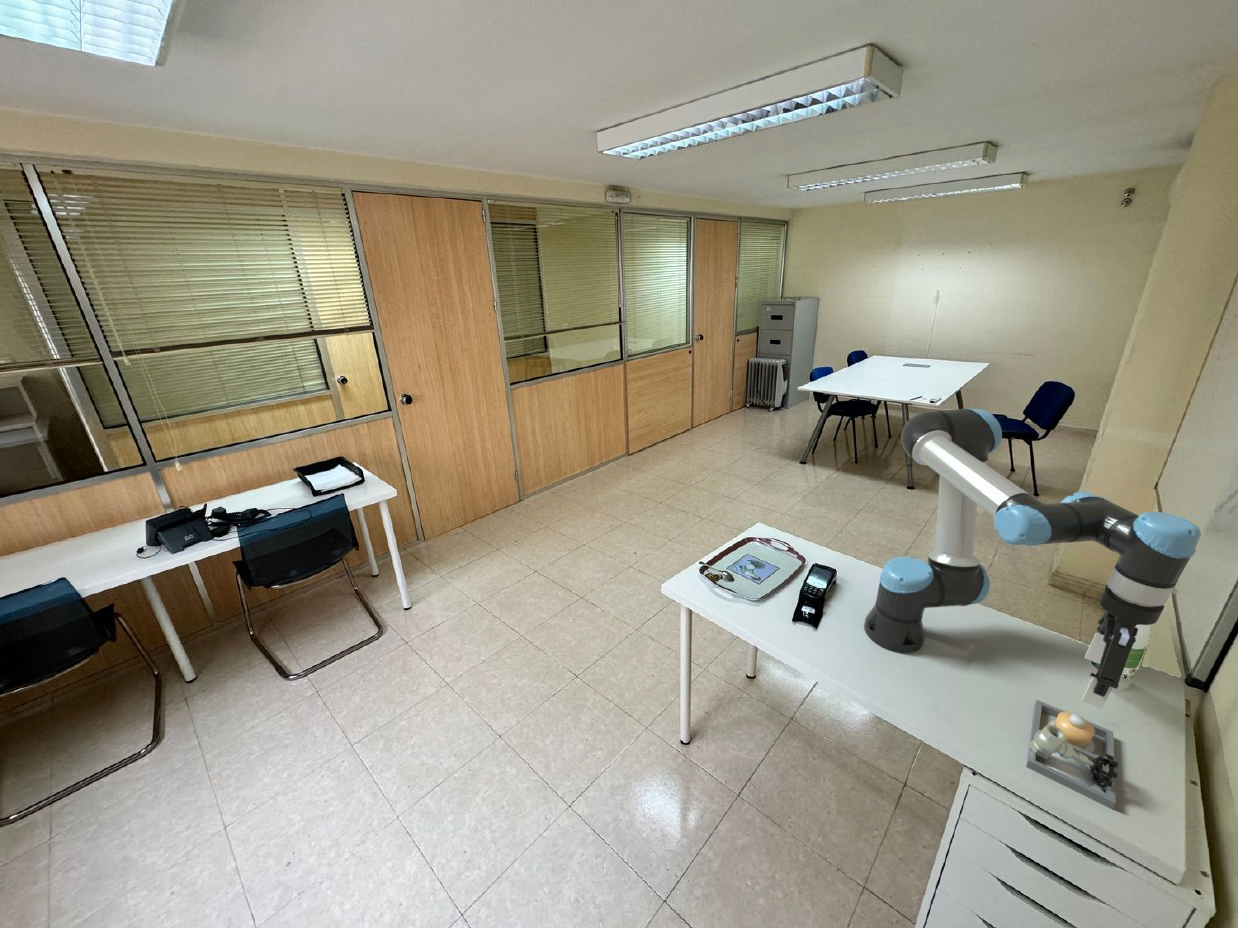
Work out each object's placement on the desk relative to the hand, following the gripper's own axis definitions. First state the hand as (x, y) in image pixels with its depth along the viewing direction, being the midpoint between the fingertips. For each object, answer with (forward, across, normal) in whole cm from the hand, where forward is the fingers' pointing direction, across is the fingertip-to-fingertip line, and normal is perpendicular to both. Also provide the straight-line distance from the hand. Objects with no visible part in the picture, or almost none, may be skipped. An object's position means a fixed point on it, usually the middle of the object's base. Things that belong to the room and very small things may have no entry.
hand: (1092, 681), depth 94 cm
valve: (+20, -3, 0) cm, 20 cm away
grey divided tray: (+22, +2, -2) cm, 22 cm away
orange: (+21, +6, -2) cm, 22 cm away
